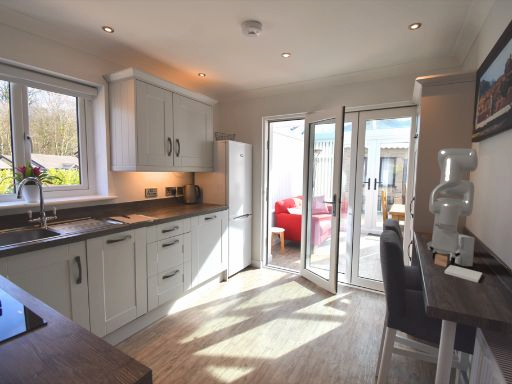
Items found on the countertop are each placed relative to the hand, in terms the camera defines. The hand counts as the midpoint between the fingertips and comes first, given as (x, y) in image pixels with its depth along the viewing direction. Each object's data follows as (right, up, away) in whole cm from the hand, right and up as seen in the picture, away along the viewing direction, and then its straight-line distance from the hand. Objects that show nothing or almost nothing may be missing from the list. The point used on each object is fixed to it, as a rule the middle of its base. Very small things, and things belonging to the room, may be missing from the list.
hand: (443, 262), depth 133 cm
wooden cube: (0, -1, +1) cm, 2 cm away
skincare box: (+11, -2, +3) cm, 12 cm away
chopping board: (+1, -3, -11) cm, 12 cm away
